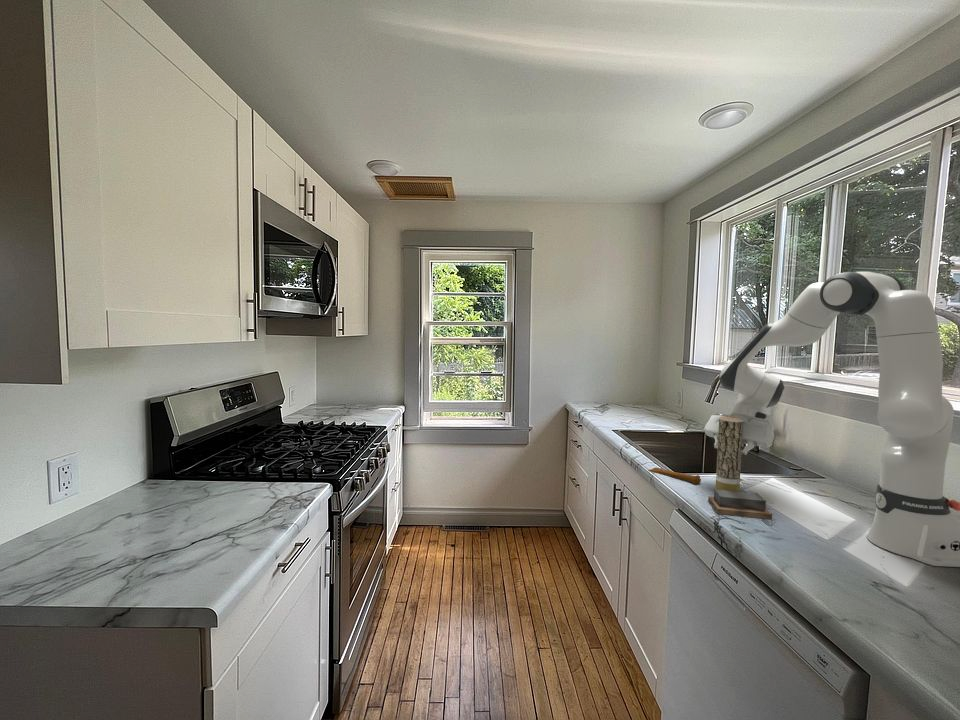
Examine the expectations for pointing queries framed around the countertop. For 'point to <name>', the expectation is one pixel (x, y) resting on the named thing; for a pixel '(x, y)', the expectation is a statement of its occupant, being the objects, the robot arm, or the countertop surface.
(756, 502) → the stand
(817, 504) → the countertop surface
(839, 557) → the countertop surface
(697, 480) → the primitive tool
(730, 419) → the bark patterned cylinder
